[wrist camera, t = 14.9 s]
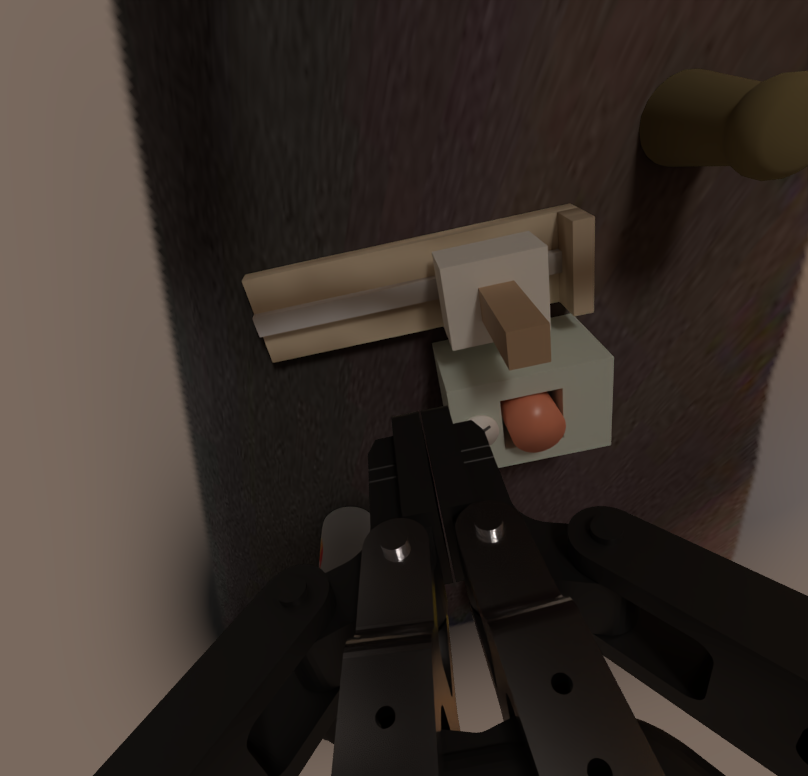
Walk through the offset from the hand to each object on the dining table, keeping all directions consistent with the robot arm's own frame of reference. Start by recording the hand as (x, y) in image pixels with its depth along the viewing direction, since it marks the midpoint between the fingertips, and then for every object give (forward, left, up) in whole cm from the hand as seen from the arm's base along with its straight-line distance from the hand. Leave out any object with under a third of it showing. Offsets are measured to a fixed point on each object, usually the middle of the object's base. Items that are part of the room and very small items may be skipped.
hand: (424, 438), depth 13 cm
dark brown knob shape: (-2, +22, -27) cm, 35 cm away
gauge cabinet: (+15, +8, -27) cm, 32 cm away
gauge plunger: (+15, +8, -24) cm, 29 cm away
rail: (+6, +2, -27) cm, 28 cm away
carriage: (+6, +7, -24) cm, 26 cm away
